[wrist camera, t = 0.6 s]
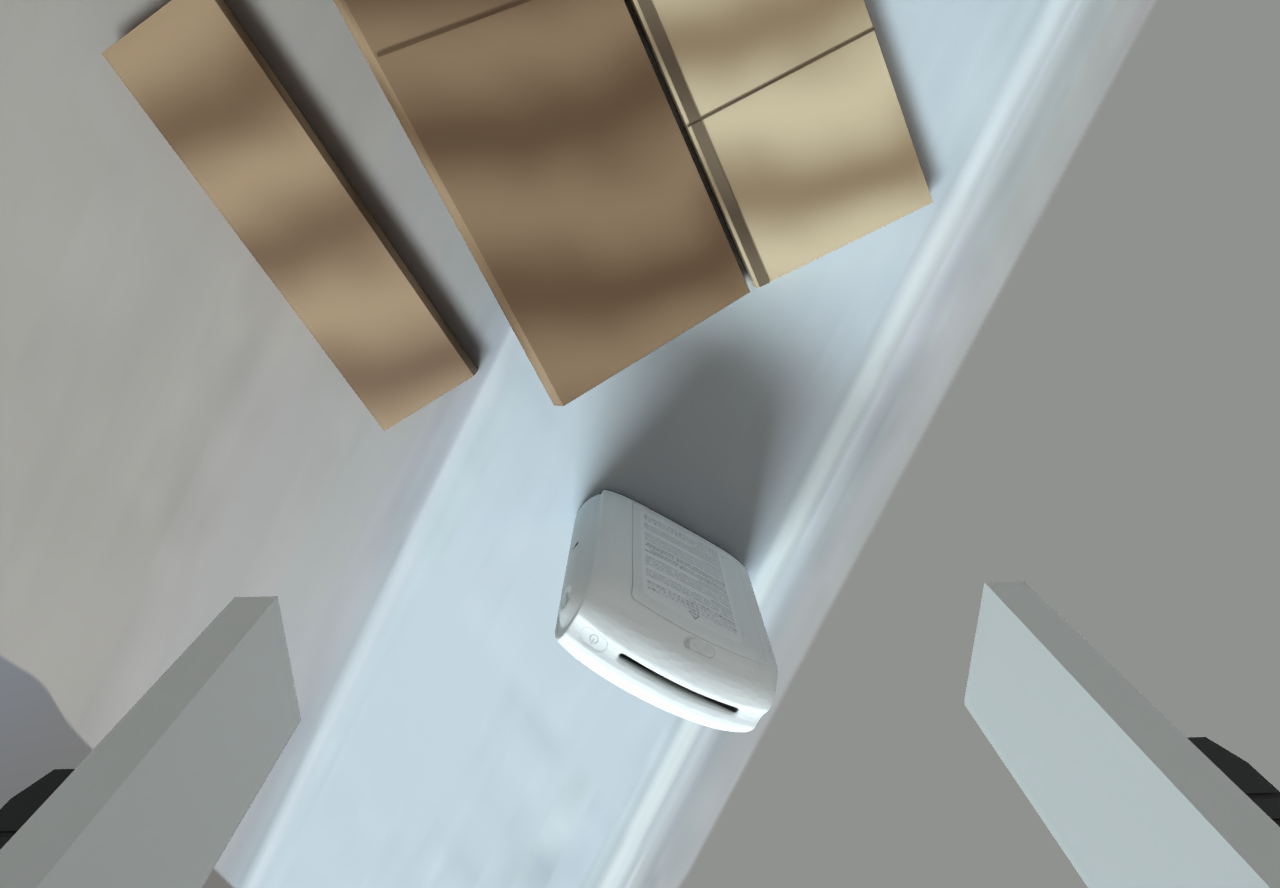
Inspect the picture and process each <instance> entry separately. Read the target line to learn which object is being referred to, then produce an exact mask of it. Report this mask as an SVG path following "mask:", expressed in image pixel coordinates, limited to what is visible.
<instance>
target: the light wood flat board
mask: <svg viewBox="0 0 1280 888" xmlns="http://www.w3.org/2000/svg"><path fill="white" fill-rule="evenodd" d="M630 2H631V4H632V7H633V9H634V11H635V14H636V16H637V18H638V21H639V23H640V25H641V28H642V30H643V32H644V34H645V37H646V39H647V41H648V44H649V46H650V48H651V51H652V53H653V55H654V58H655V60H656V62H657V65H658V67H659V69H660V72H661V74H662V76H663V79H664V81H665V83H666V86H667V88H668V90H669V92H670V95H671V97H672V99H673V102H674V104H675V106H676V109H677V111H678V113H679V116H680V118H681V120H682V123H683V125H684V127H685V130H686V132H687V134H688V137H689V139H690V141H691V144H692V146H693V148H694V150H695V153H696V155H697V157H698V160H699V162H700V164H701V167H702V169H703V171H704V174H705V176H706V178H707V181H708V183H709V185H710V188H711V190H712V192H713V195H714V197H715V199H716V202H717V204H718V206H719V209H720V211H721V213H722V215H723V218H724V220H725V222H726V225H727V227H728V229H729V232H730V234H731V236H732V239H733V241H734V243H735V246H736V248H737V250H738V253H739V255H740V257H741V260H742V262H743V264H744V267H745V269H746V271H747V273H748V276H749V278H750V280H751V283H752V285H753V286H754V287H756V288H758V287H761V286H763V285H765V284H767V283H769V282H770V281H773V280H775V279H777V278H779V277H781V276H783V275H785V274H787V273H789V272H791V271H793V270H795V269H797V268H799V267H801V266H803V265H805V264H807V263H809V262H811V261H814V260H816V259H818V258H820V257H822V256H824V255H826V254H828V253H830V252H832V251H834V250H836V249H838V248H840V247H842V246H844V245H846V244H848V243H850V242H852V241H854V240H857V239H859V238H861V237H863V236H865V235H867V234H869V233H871V232H873V231H875V230H877V229H879V228H881V227H883V226H885V225H887V224H889V223H891V222H893V221H895V220H898V219H900V218H902V217H904V216H906V215H908V214H910V213H912V212H914V211H916V210H918V209H920V208H922V207H924V206H926V205H928V204H930V203H932V202H933V201H932V198H931V195H930V192H929V189H928V186H927V184H926V181H925V178H924V175H923V172H922V169H921V166H920V163H919V160H918V157H917V154H916V151H915V148H914V145H913V143H912V140H911V137H910V134H909V131H908V128H907V125H906V122H905V119H904V116H903V113H902V110H901V107H900V104H899V102H898V99H897V96H896V93H895V90H894V87H893V84H892V81H891V78H890V75H889V72H888V69H887V66H886V63H885V61H884V58H883V55H882V52H881V49H880V46H879V43H878V40H877V37H876V34H875V31H874V30H875V29H874V28H873V25H872V22H871V20H870V17H869V14H868V11H867V8H866V5H865V2H864V0H630Z"/></svg>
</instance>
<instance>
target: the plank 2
mask: <svg viewBox="0 0 1280 888" xmlns="http://www.w3.org/2000/svg"><path fill="white" fill-rule="evenodd" d="M334 2H335V3H336V5H337V7H338V9H339V11H340V13H341V14H342V16H343V18H344V20H345V22H346V24H347V26H348V27H349V29H350V31H351V33H352V35H353V37H354V38H355V40H356V42H357V44H358V46H359V48H360V49H361V51H362V53H363V55H364V57H365V59H366V60H367V62H368V64H369V66H370V68H371V70H372V71H373V73H374V75H375V77H376V79H377V81H378V82H379V84H380V86H381V88H382V90H383V92H384V94H385V95H386V97H387V99H388V101H389V103H390V105H391V106H392V108H393V110H394V112H395V114H396V116H397V117H398V119H399V121H400V123H401V125H402V127H403V128H404V130H405V132H406V134H407V136H408V138H409V139H410V141H411V143H412V145H413V147H414V149H415V150H416V152H417V154H418V156H419V158H420V160H421V162H422V163H423V165H424V167H425V169H426V171H427V173H428V174H429V176H430V178H431V180H432V182H433V184H434V185H435V187H436V189H437V191H438V193H439V195H440V196H441V198H442V200H443V202H444V204H445V206H446V207H447V209H448V211H449V213H450V215H451V217H452V218H453V220H454V222H455V224H456V226H457V228H458V230H459V231H460V233H461V235H462V237H463V239H464V241H465V242H466V244H467V246H468V248H469V250H470V252H471V253H472V255H473V257H474V259H475V261H476V263H477V264H478V266H479V268H480V270H481V272H482V274H483V275H484V277H485V279H486V281H487V283H488V285H489V286H490V288H491V290H492V292H493V294H494V296H495V298H496V299H497V301H498V303H499V305H500V307H501V309H502V310H503V312H504V314H505V316H506V318H507V320H508V321H509V323H510V325H511V327H512V329H513V331H514V332H515V334H516V336H517V338H518V340H519V342H520V343H521V345H522V347H523V349H524V351H525V353H526V354H527V356H528V358H529V360H530V362H531V364H532V366H533V367H534V369H535V371H536V373H537V375H538V377H539V378H540V380H541V382H542V384H543V386H544V388H545V389H546V391H547V393H548V395H549V397H550V399H551V400H552V402H553V404H554V405H558V406H564V405H566V404H568V403H569V402H571V401H572V400H574V399H576V398H577V397H579V396H581V395H582V394H584V393H585V392H587V391H589V390H590V389H592V388H594V387H595V386H597V385H599V384H600V383H602V382H603V381H605V380H607V379H608V378H610V377H612V376H613V375H615V374H617V373H618V372H620V371H621V370H623V369H625V368H626V367H628V366H630V365H631V364H633V363H635V362H636V361H638V360H639V359H641V358H643V357H644V356H646V355H648V354H649V353H651V352H653V351H654V350H656V349H657V348H659V347H661V346H662V345H664V344H666V343H667V342H669V341H670V340H672V339H674V338H675V337H677V336H679V335H680V334H682V333H684V332H685V331H687V330H688V329H690V328H692V327H693V326H695V325H697V324H698V323H700V322H702V321H703V320H705V319H706V318H708V317H710V316H711V315H713V314H715V313H716V312H718V311H720V310H721V309H723V308H724V307H726V306H728V305H729V304H731V303H733V302H734V301H736V300H738V299H739V298H741V297H742V296H744V295H746V294H747V293H749V292H750V291H749V288H748V286H747V284H746V281H745V279H744V277H743V274H742V272H741V270H740V267H739V265H738V263H737V261H736V258H735V256H734V254H733V251H732V249H731V247H730V244H729V242H728V240H727V237H726V235H725V233H724V231H723V228H722V226H721V224H720V221H719V219H718V217H717V214H716V212H715V210H714V207H713V205H712V203H711V201H710V198H709V196H708V194H707V191H706V189H705V187H704V184H703V182H702V180H701V177H700V175H699V173H698V171H697V168H696V166H695V164H694V161H693V159H692V157H691V154H690V152H689V150H688V147H687V145H686V143H685V141H684V138H683V136H682V134H681V131H680V129H679V127H678V124H677V122H676V120H675V117H674V115H673V113H672V110H671V108H670V106H669V104H668V101H667V99H666V97H665V94H664V92H663V90H662V87H661V85H660V83H659V80H658V78H657V76H656V74H655V71H654V69H653V67H652V64H651V62H650V60H649V57H648V55H647V53H646V50H645V48H644V46H643V44H642V41H641V39H640V37H639V34H638V32H637V30H636V27H635V25H634V23H633V20H632V18H631V16H630V14H629V11H628V9H627V7H626V4H625V2H624V0H334Z"/></svg>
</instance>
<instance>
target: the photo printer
mask: <svg viewBox="0 0 1280 888" xmlns="http://www.w3.org/2000/svg"><path fill="white" fill-rule="evenodd" d="M555 637H556V640H557V641H558V642H559V643H560V644H561V645H562V646H563V647H564V648H565V649H566V650H567V651H568V652H569V653H571V654H572V655H573V656H574V657H575V658H576V659H578V660H579V661H580V662H582V663H583V664H584V665H586V666H587V667H589V668H590V669H591V670H593V671H594V672H596V673H597V674H599V675H600V676H602V677H604V678H605V679H607V680H608V681H610V682H612V683H613V684H615V685H616V686H618V687H620V688H622V689H623V690H625V691H627V692H629V693H631V694H633V695H634V696H636V697H638V698H640V699H642V700H644V701H646V702H648V703H650V704H652V705H654V706H656V707H658V708H660V709H662V710H665V711H667V712H669V713H672V714H674V715H677V716H679V717H681V718H684V719H687V720H689V721H692V722H695V723H698V724H701V725H704V726H707V727H711V728H714V729H719V730H725V731H732V732H748V731H751V730H753V729H754V728H755V726H756V724H757V722H758V720H759V719H760V718H761V716H762V715H763V714H765V713H766V712H767V711H768V710H769V709H770V707H771V704H772V701H773V698H774V694H775V691H776V684H777V672H778V671H777V664H776V660H775V657H774V654H773V651H772V648H771V645H770V641H769V638H768V635H767V632H766V629H765V626H764V623H763V620H762V617H761V613H760V610H759V607H758V604H757V601H756V598H755V595H754V591H753V588H752V585H751V582H750V578H749V575H748V572H747V570H746V569H745V567H744V566H743V565H742V564H741V563H740V562H739V561H738V560H736V559H735V558H734V557H733V556H731V555H730V554H728V553H727V552H725V551H724V550H722V549H721V548H719V547H717V546H715V545H714V544H712V543H710V542H709V541H707V540H705V539H703V538H702V537H700V536H698V535H696V534H695V533H693V532H691V531H689V530H687V529H686V528H684V527H682V526H680V525H678V524H676V523H675V522H673V521H671V520H669V519H667V518H665V517H664V516H662V515H660V514H658V513H656V512H654V511H653V510H650V509H649V508H647V507H645V506H643V505H641V504H639V503H637V502H635V501H633V500H631V499H629V498H627V497H625V496H623V495H620V494H617V493H615V492H612V491H608V490H603V491H602V493H601V494H598V495H595V496H593V497H591V498H590V499H588V500H587V501H586V502H585V503H584V504H583V505H582V506H581V508H580V509H579V511H578V513H577V515H576V519H575V524H574V529H573V534H572V540H571V545H570V550H569V556H568V561H567V567H566V572H565V578H564V584H563V589H562V595H561V601H560V606H559V612H558V617H557V624H556V629H555Z"/></svg>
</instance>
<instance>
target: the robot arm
mask: <svg viewBox="0 0 1280 888" xmlns="http://www.w3.org/2000/svg"><path fill="white" fill-rule="evenodd" d="M964 704H965V706H966V707H967V709H968V710H969V712H970V713H971V715H972V716H973V718H974V719H975V721H976V722H977V723H978V725H979V727H980V728H981V730H982V731H983V733H984V734H985V736H986V737H987V739H988V740H989V741H990V743H991V745H992V746H993V747H994V749H995V750H996V752H997V753H998V755H999V756H1000V758H1001V759H1002V761H1003V762H1004V764H1005V765H1006V767H1007V768H1008V770H1009V771H1010V773H1011V774H1012V776H1013V777H1014V779H1015V780H1016V781H1017V783H1018V785H1019V786H1020V787H1021V789H1022V790H1023V792H1024V793H1025V795H1026V796H1027V798H1028V799H1029V801H1030V802H1031V804H1032V805H1033V807H1034V808H1035V810H1036V811H1037V813H1038V814H1039V816H1040V817H1041V819H1042V820H1043V821H1044V823H1045V824H1046V826H1047V827H1048V829H1049V830H1050V832H1051V833H1052V835H1053V836H1054V838H1055V839H1056V841H1057V842H1058V844H1059V845H1060V847H1061V848H1062V850H1063V851H1064V853H1065V854H1066V856H1067V857H1068V858H1069V860H1070V862H1071V863H1072V865H1073V866H1074V867H1075V869H1076V870H1077V872H1078V873H1079V875H1080V876H1081V877H1082V879H1083V881H1084V882H1085V884H1086V885H1087V887H1088V888H1280V792H1279V791H1278V790H1277V789H1276V788H1275V787H1274V786H1273V785H1272V784H1270V783H1269V782H1268V781H1267V780H1266V779H1265V778H1264V777H1263V776H1262V775H1260V774H1259V773H1258V772H1257V771H1256V770H1255V769H1254V768H1253V767H1252V766H1251V765H1249V763H1247V762H1246V761H1244V760H1242V759H1241V758H1239V757H1237V756H1236V755H1234V754H1232V753H1231V752H1229V751H1228V750H1226V749H1224V748H1223V747H1221V746H1219V745H1218V744H1216V743H1214V742H1213V741H1211V740H1209V739H1208V738H1206V737H1196V738H1187V737H1186V736H1185V735H1184V734H1182V733H1181V732H1180V731H1179V730H1178V729H1177V728H1176V727H1175V726H1174V725H1173V724H1172V723H1171V722H1170V721H1169V720H1168V719H1167V718H1166V717H1165V716H1164V715H1163V714H1162V713H1161V712H1160V711H1159V710H1157V708H1156V707H1154V706H1153V705H1152V704H1151V703H1150V702H1149V701H1148V700H1147V699H1146V698H1145V697H1144V696H1143V695H1142V694H1141V693H1140V692H1139V691H1138V690H1137V689H1136V688H1135V687H1134V686H1133V685H1132V684H1131V683H1129V681H1127V680H1126V679H1125V678H1124V677H1123V676H1122V675H1121V674H1120V673H1119V672H1118V671H1117V670H1116V669H1115V668H1114V667H1113V666H1112V665H1111V664H1110V663H1109V662H1108V661H1107V660H1106V659H1105V658H1104V657H1102V655H1100V654H1099V653H1098V652H1097V651H1096V650H1095V649H1094V648H1093V647H1092V646H1091V645H1090V644H1089V643H1088V642H1087V641H1086V640H1085V639H1084V638H1083V637H1082V636H1081V635H1080V634H1079V633H1078V632H1076V630H1074V629H1073V628H1072V627H1071V626H1070V625H1069V624H1068V623H1067V622H1066V621H1065V620H1064V619H1063V618H1062V617H1061V616H1060V615H1059V614H1058V613H1057V612H1056V611H1055V610H1054V609H1053V608H1052V607H1050V605H1049V604H1047V603H1046V602H1045V601H1044V600H1043V599H1042V598H1041V597H1040V596H1039V595H1038V594H1037V593H1036V592H1035V591H1034V590H1033V589H1032V588H1031V587H1030V586H1029V585H1028V584H1027V583H1026V582H985V584H984V590H983V595H982V601H981V607H980V612H979V618H978V624H977V630H976V636H975V642H974V648H973V653H972V659H971V665H970V671H969V677H968V683H967V689H966V694H965V700H964ZM300 721H301V717H300V712H299V706H298V701H297V696H296V691H295V686H294V680H293V675H292V670H291V665H290V659H289V654H288V649H287V644H286V638H285V633H284V628H283V623H282V617H281V612H280V607H279V602H278V597H277V596H273V597H235V598H234V599H233V600H232V601H231V602H230V603H229V604H228V605H227V606H226V608H225V609H224V610H223V611H222V612H221V613H220V614H219V615H218V616H217V617H216V618H215V619H214V620H213V621H212V623H211V624H210V625H209V626H208V627H207V628H206V629H205V630H204V631H203V632H202V633H201V634H200V635H199V637H198V638H197V639H196V640H195V641H194V642H193V643H192V644H191V645H190V646H189V647H188V648H187V649H186V651H185V652H184V653H183V654H182V655H181V656H180V657H179V658H178V659H177V660H176V661H175V662H174V663H173V665H172V666H171V667H170V668H169V669H168V670H167V671H166V672H165V673H164V674H163V675H162V676H161V677H160V678H159V680H158V681H157V682H156V683H155V684H154V685H153V686H152V687H151V688H150V689H149V690H148V691H147V692H146V694H145V695H144V696H143V697H142V698H141V699H140V700H139V701H138V702H137V703H136V704H135V705H134V706H133V708H132V709H131V710H130V711H129V712H128V713H127V714H126V715H125V716H124V717H123V718H122V719H121V720H120V722H119V723H118V724H117V725H116V726H115V727H114V728H113V729H112V730H111V731H110V732H109V733H108V734H107V735H106V737H105V738H104V739H103V740H102V741H101V742H100V743H99V744H98V745H97V746H96V747H95V748H94V749H93V751H92V752H91V753H90V754H89V755H88V756H87V757H86V758H85V759H84V760H83V761H82V762H81V763H80V765H79V766H78V767H77V768H76V769H60V770H58V769H57V770H53V771H52V772H50V773H48V774H47V775H45V776H44V777H43V778H41V779H40V780H38V781H37V782H35V783H34V784H32V785H31V786H29V787H28V788H26V789H25V790H23V791H22V792H20V793H19V794H17V795H16V796H14V797H13V798H11V799H10V800H9V801H8V802H7V804H5V805H4V806H3V807H2V809H1V810H0V888H202V887H203V885H204V883H205V881H206V880H207V878H208V876H209V874H210V873H211V871H212V870H213V868H214V866H215V865H216V863H217V861H218V860H219V858H220V856H221V854H222V853H223V851H224V849H225V848H226V846H227V844H228V843H229V841H230V839H231V838H232V836H233V834H234V832H235V831H236V829H237V827H238V826H239V824H240V822H241V821H242V819H243V817H244V816H245V814H246V812H247V810H248V809H249V807H250V805H251V804H252V802H253V800H254V799H255V797H256V795H257V794H258V792H259V790H260V789H261V787H262V785H263V783H264V782H265V780H266V778H267V777H268V775H269V773H270V772H271V770H272V768H273V767H274V765H275V763H276V761H277V760H278V758H279V756H280V755H281V753H282V751H283V750H284V748H285V746H286V745H287V743H288V741H289V739H290V738H291V736H292V734H293V733H294V731H295V729H296V728H297V726H298V724H299V723H300Z"/></svg>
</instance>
